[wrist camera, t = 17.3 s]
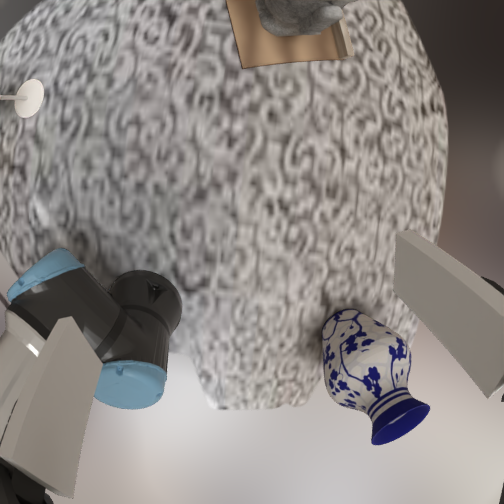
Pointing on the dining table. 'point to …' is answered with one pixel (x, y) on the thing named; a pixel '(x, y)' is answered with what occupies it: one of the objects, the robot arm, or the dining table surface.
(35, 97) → the wineglass
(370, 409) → the vase
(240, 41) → the shelf board
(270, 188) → the dining table surface
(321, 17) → the figurine
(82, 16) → the dining table surface
